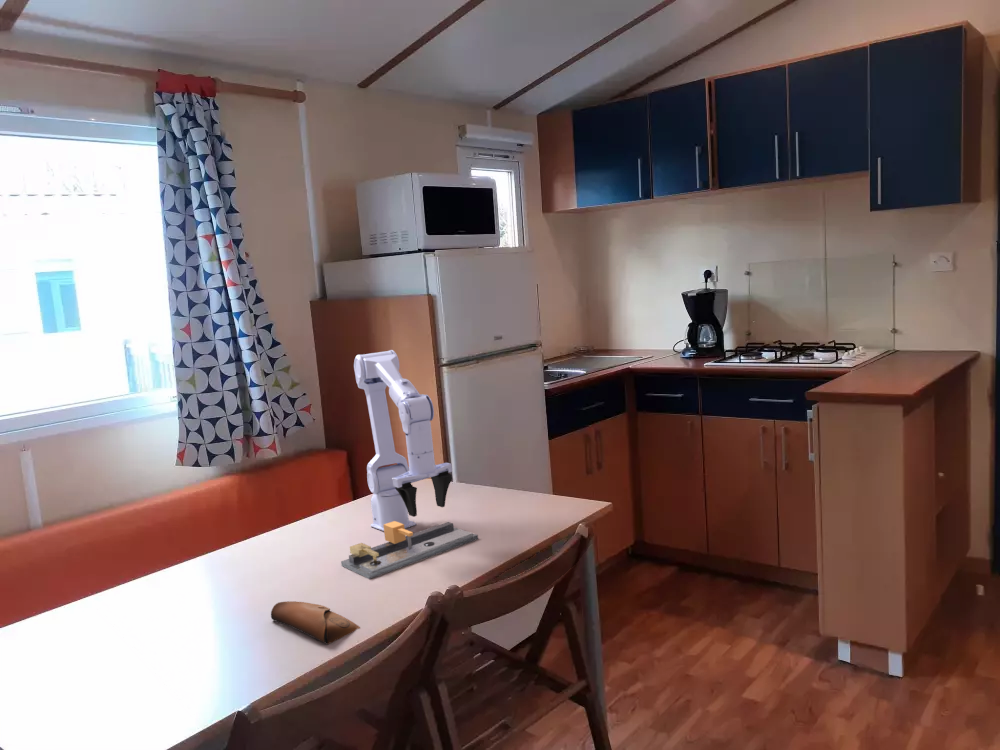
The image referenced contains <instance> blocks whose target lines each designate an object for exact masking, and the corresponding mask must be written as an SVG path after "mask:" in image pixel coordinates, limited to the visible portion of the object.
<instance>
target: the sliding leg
mask: <svg viewBox="0 0 1000 750" xmlns="http://www.w3.org/2000/svg"><path fill="white" fill-rule="evenodd" d="M383 532H384V539H385V541H386V542H391V543H394V544H396V543H399V542H401V541H404V540H406V537H405V536H407V538H408V547H409V549H412V545H411V536H413V534H414V532H413V531H411V530H408V529H406V528H404V524H402V523H399V522H396V521H393V522H390V523H387V524H384V531H383Z"/></svg>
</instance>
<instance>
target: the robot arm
mask: <svg viewBox="0 0 1000 750" xmlns="http://www.w3.org/2000/svg"><path fill="white" fill-rule="evenodd" d="M353 370H354V375H355V381H356V384H357V387H358V389H361V390H364V393H365V397H366V404H367V409H368V414H369V419H370V420H369V421H370V428H371V433H372V439H373V443H374V450H375V455H374V456H373V457H372V459H370V461H369V462H368V463H367V465H366V472H367V473H366V478H367V481H366V482H367V485H368V488H369V490H370V492H371V493H372V496H371V500H370V505H371V506H370V507H371V514H372V523H371V524H370V527H372V528H374V529H377V530H380V531H382V532H384V524H387V523H390V522H393V521H396V522H399V523H402V524H404V528H405V529H407V528H410V527H413V526H416V525H417V522H415V521H412V520H410V519H409V516H411V517H417V516H418V514H417V513H418V511H417V500H416V499H417V491H418V487H417V486H413V484H412V483H416V482H419V481H422V480H426V479H429V478H430V479H431V482H432V485H433V489H434V494H435V495H434V497H435V503H436V506H437V507H440V508H445V506H446V500H447V499H446V498H447V495H448V494H447V493H448V489H449V487H450V484H451V482H452V480H453V475H452V473H453V465H452V463H449V462H443V463H438V464H436V461H435V451H434V443H433V442H434V441H433V432H432V423H431V421H433V419H434V417H435V409H434V403H433V401H432V399H431V397H430V396H429V395H428V394H424V393H422V394H420V392H419V391H418V389H417V388H416V387H415V385H414V384H413V383H412V382H411V381H410V380H409V379H408V378H403V375H402V374H401V372H400V360H399V357H398V354H397V353H396V351H395V350H393V349H389V350H387V351H379V352H371V353H366V354H365V353H363V354H357V355H356V356H355V358H354V362H353ZM386 388H388V394H389V397H390V398H391V400H392V402H393V403H394V404H395V406H396V407H397V408H398V415H399V420H400V422H401V426H402V431H403V433H405V443H406V450H407V451H406V452H407V458H408V460H407V458H406V457H405V456H403V455H401V454H400V453H398V452H397V451H396V447H395V442H394V435H393V429H392V424H391V418H390V412H389V406H388V401H387V395H386Z"/></svg>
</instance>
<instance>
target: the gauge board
mask: <svg viewBox="0 0 1000 750" xmlns="http://www.w3.org/2000/svg"><path fill="white" fill-rule="evenodd" d="M405 537H406V540H404V541H401V542H399V543H396V544H394V543H391V542H389V541H386V542H384V543H382V544H379V545H376V546H373V547H371V546H370V545H368V544H365V543H363V542H360V543H357V544H354V545H351V546H349V552H350V555H349V554H348V559H344V560H341V561H340V562H341V563H340V565H341V567H343V568H346V569H348V570H349V571H352V572H354V573H355V574H358V575H360V576H362V577H364V578H365V579H368V580H371V579H372V578H376V577H378V576H381V575H384V574H386V573H387V574H388V573H389V572H392V571H395V570H397V569H400V567H401V568H403V567H406V566H408V565H411V564H414V563H417V562H420V561H423V560H425V559H427V558H431V557H434V556H436V555H438V554H441V553H444V552H447V551H449V550H453V549H455V548H457V547H460V546H461V547H462V546H463V545H465V544H468V543H471V542H474V541H476V540H478V539H479V535H478V534H476V533H473V532H470V531H468V530H467V531H466V530H464V529H461V528H458V527H455V526H454V523H453V522H451V521H446V522H443V523H441V524H437V525H434V526H432V527H429V528H426V529H423V530H421V531H420V530H419V531H417V532H413V536H411V545H412V549H409V547H408V538H407V536H406V535H405Z"/></svg>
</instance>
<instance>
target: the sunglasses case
mask: <svg viewBox="0 0 1000 750" xmlns="http://www.w3.org/2000/svg"><path fill="white" fill-rule="evenodd" d="M270 617H271V620H273V621H274V622H277V623H280V624H284V625H286V626H290V627H291V628H293V629H295V630H297V631H299V632H302V633H304V634H306V635H308V636H310V637H312V638H314V639H316V640H318V641H320V642H322V643H325V644H327V645H331V644H332V643H334V642H335V641H337V640H340V639H341V638H344V637H345V636H347V635H349V634H352V633H353V632H355V631H356V630H359V629H361V627H360V626H359V625H358V624H356V623H355V622H353V621H352V620H350V619H348V618H347V617H344V616H342V615H341V614H339V613H336V612H334V611H333V610H331V608H329V607H327V606H325V605H321V604H315V603H310V602H305V601H290V600H289V601H281V602H277V603H276V604H274V605H273V607H272V609H271V611H270Z"/></svg>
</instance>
